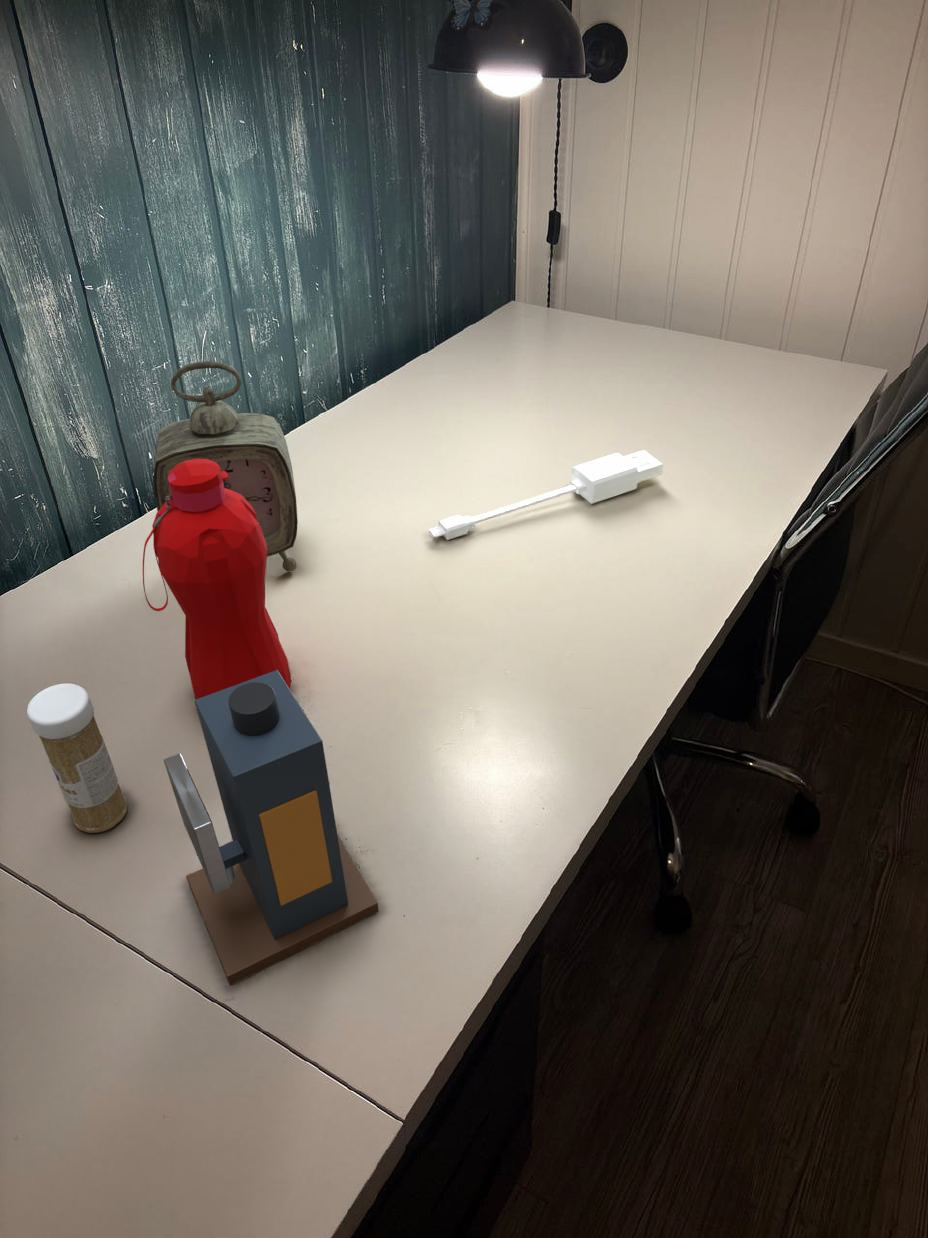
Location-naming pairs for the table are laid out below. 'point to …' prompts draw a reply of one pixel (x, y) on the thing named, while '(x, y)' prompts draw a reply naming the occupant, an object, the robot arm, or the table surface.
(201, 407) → the tabletop clock
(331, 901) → the dispenser
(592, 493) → the charging cable
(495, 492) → the table surface
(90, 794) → the sprinkles bottle
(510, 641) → the table surface
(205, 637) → the water bottle
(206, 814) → the brushed metal plate
